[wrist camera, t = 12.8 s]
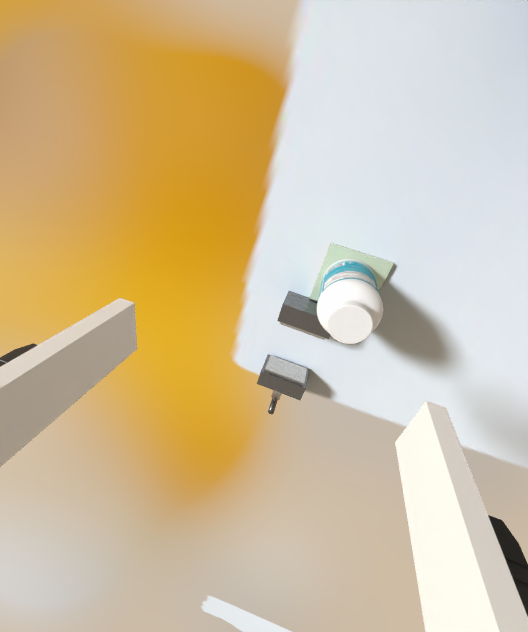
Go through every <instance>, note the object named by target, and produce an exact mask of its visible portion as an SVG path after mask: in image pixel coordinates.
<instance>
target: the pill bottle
mask: <svg viewBox="0 0 528 632" xmlns="http://www.w3.org/2000/svg"><path fill="white" fill-rule="evenodd" d="M317 316H318V320H319V322H320V324H321V325H322V327H323V328H324V329H325V330H326V331H327V332H328V333H330V335H331V336H332V337H333V338H334V339H335V340H337V341H339V342H341V343H345V344H355V343H359V342H361V341H363V340H365V339H366V338H367V337H368V336H369V335H370V333H371V332H373V331H374V330H375V329H376V328H377V326H378V325H379V323H380V321H381V319H382V316H383V303H382V299H381V296H380V293H379V289H378V286H377V283H376V279H375V276H374V273H373V271H372V270H371V268H370V267H369V266H368V265H367V264H365V263H364V262H362V261H360V260H357V259H342V260H339V261H337V262H335V263H333V264H332V265H331V266H330V267H329V268H328V269H327V270H326V272H325V273H324V276H323V279H322V283H321V288H320V294H319V298H318V303H317Z"/></svg>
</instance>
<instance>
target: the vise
mask: <svg viewBox="0 0 528 632" xmlns="http://www.w3.org/2000/svg"><path fill="white" fill-rule="evenodd" d="M317 303H318V301H316V300H313V299H310V298H308V297H305V296H302V295H299V294H297V293H294V292H291V291H289V292H288V294H287V296H286V298H285V301H284V303H283V305H282V308H281V311H280V315H279V318H278V321H279V322H281V323H280V324H282V325H284V326H287V327H290V328H293V329H296V330H298V331H301V332H304V333H307V334H310V335H312V336H315V337H318V338H321V339H324V338H327V339H329V337H330V333H328V332H327V331H326V330H325V329H324V328H323V327H322V325H321V324H320V322H319V320H318V316H317ZM308 373H309V370H308V369H307V368H305V367H302V366H299V365H297V364H294V363H291V362H288V361H286V360H283V359H280V358H278V357H275V356H272V355H268V356H267V358H266V361H265V363H264V366H263V368H262V370H261V373H260V376H259V380H258V382H257V384H259V385H262V386H264V387H267V388H270V389H272V390H274V391H273V393H272V401H271V404H270V407H269V411H268V412H269V414H273V413H274V410H275V406H276V403H277V400H279V399H280V396H281V394H282V393H283V394H285V395H288V396H290V397H293V398H296V399H298V400H300V399H301V398H302V395H303V393H304V391H305V389H306V384H307V379H308Z"/></svg>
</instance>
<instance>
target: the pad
mask: <svg viewBox="0 0 528 632" xmlns="http://www.w3.org/2000/svg"><path fill="white" fill-rule="evenodd" d="M342 259H357V260H360V261H362V262H364V263H365V264H367V265H368V266H369V267H370V268H371V270H372V271H373V273H374V276H375V279H376V283H377V286H378V289H379V291H380V289H381V287H382V285H383V283H384V281H385V279H386V278H387V276H388V274H389V272H390V270H391V268H392V266H393V264H394V263H393V262H390V261H387V260H384V259H381V258H377V257H374V256H371V255H368V254H365V253H362V252H359V251H356V250H352V249H349V248H346V247H343V246H340V245H337V244H334V243H330V246H329V249H328V251H327V254H326V256H325V259H324V262H323V264H322V267H321V270H320V272H319V275H318V278H317V280H316V283H315V286H314V288H313V291H312V293H311V296H310V299H313V300H316V301H318V298H319V294H320V288H321V283H322V279H323V276H324V273H325V272H326V270H327V269H328V268H329V267H330V266H331V265H332V264H333V263H335V262H337V261H339V260H342Z"/></svg>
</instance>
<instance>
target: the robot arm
mask: <svg viewBox="0 0 528 632" xmlns="http://www.w3.org/2000/svg"><path fill="white" fill-rule="evenodd" d="M135 350H137V339H136V322H135V303H133V302H130V301H127V300H125V299H121V298H119V299H117V300H115V301H114V302H112V303H110V304H109V305H107V306H105V307H103V308H102V309H100V310H98V311H96V312H95V313H93V314H91V315H89V316H88V317H86V318H85V319H83V320H81V321H79V322H77V323H76V324H74V325H72V326H70V327H69V328H67V329H65V330H64V331H62V332H60V333H58V334H57V335H55V336H53V337H52V338H50V339H48V340H46V341H44V342H43V343H41V344H39V345H36V344H31V345H27V346H25V347H21V348H18V349H15V350H13V351H11V352H10V353H8V354H6V355H4V356H2V357H1V358H0V467H1V466H2V465H3V464H4V463H5V462H7V461H8V460H9V459H10V458H11V457H12V456H14V455H15V454H16V453H17V452H18V451H19V450H21V449H22V448H23V447H24V446H25V445H26V444H28V443H29V442H30V441H31V440H32V439H33V438H34V437H36V436H37V435H38V434H39V433H40V432H41V431H43V430H44V429H45V428H46V427H47V426H48V425H49V424H51V423H52V422H53V421H54V420H55V419H57V418H58V417H59V416H60V415H61V414H62V413H63V412H65V411H66V410H67V409H68V408H69V407H70V406H72V405H73V404H74V403H75V402H76V401H77V400H78V399H80V398H81V397H82V396H83V395H84V394H86V393H87V392H88V391H89V390H90V389H91V388H92V387H94V386H95V385H96V384H97V383H98V382H99V381H101V380H102V379H103V378H104V377H105V376H106V375H108V374H109V373H110V372H111V371H112V370H113V369H115V368H116V367H117V366H118V365H119V364H120V363H121V362H123V361H124V360H125V359H126V358H127V357H128V356H129V355H131V354H132V353H133V352H134V351H135ZM395 444H396V449H397V456H398V462H399V468H400V474H401V481H402V487H403V493H404V500H405V506H406V512H407V518H408V524H409V530H410V537H411V543H412V550H413V556H414V561H415V568H416V575H417V581H418V587H419V593H420V600H421V606H422V612H423V618H424V625H425V631H426V632H528V564H527V562H526V559H525V557H524V555H523V552H522V550H521V548H520V546H519V543H518V542H517V541H516V539H515V538H514V536H513V535H512V534H511V532H510V531H509V529H508V528H507V526H506V525H505V524H504V522H503V521H502V520H500V519H497V518H494V517H491V516H489V515H488V514H487V512H486V509H485V507H484V504H483V501H482V499H481V496H480V494H479V491H478V489H477V486H476V484H475V481H474V478H473V476H472V473H471V471H470V468H469V466H468V463H467V461H466V458H465V455H464V453H463V450H462V448H461V445H460V443H459V440H458V437H457V435H456V432H455V430H454V427H453V425H452V422H451V420H450V417H449V414H448V412H447V409H446V408H445V407H442V406H439V405H436V404H433V403H430V402H427V401H426V402H425V403H424V404H423V406H422V407H421V408H420V410H419V411H418V412H417V414H416V415H415V417H414V418H413V419H412V421H411V422H410V423H409V425H408V426H407V427H406V429H405V430H404V432H403V433H402V434H401V435H400V437H399V438H398V439H397V441H396V442H395Z"/></svg>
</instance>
